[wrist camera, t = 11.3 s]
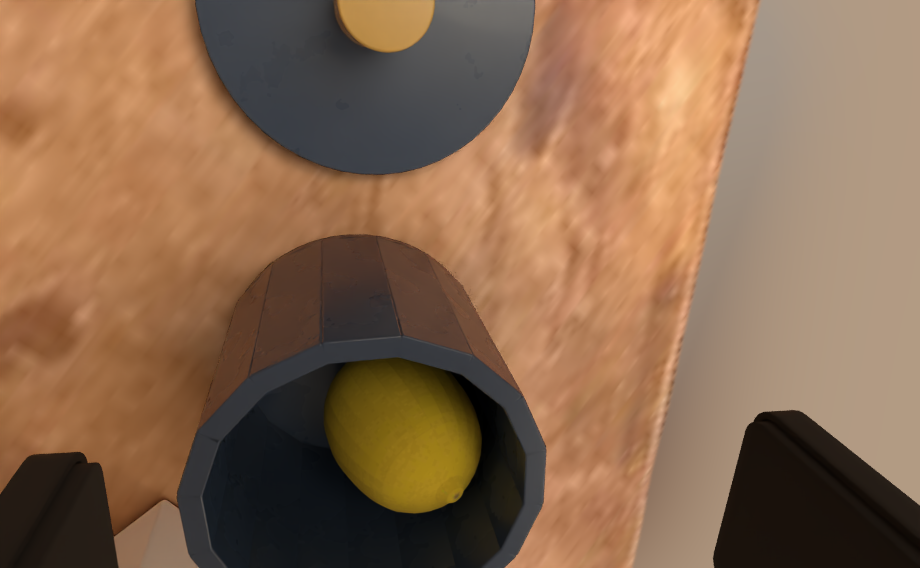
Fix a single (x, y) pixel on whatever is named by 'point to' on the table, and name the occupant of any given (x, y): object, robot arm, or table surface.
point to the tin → (302, 420)
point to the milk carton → (154, 540)
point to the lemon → (403, 433)
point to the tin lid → (369, 73)
